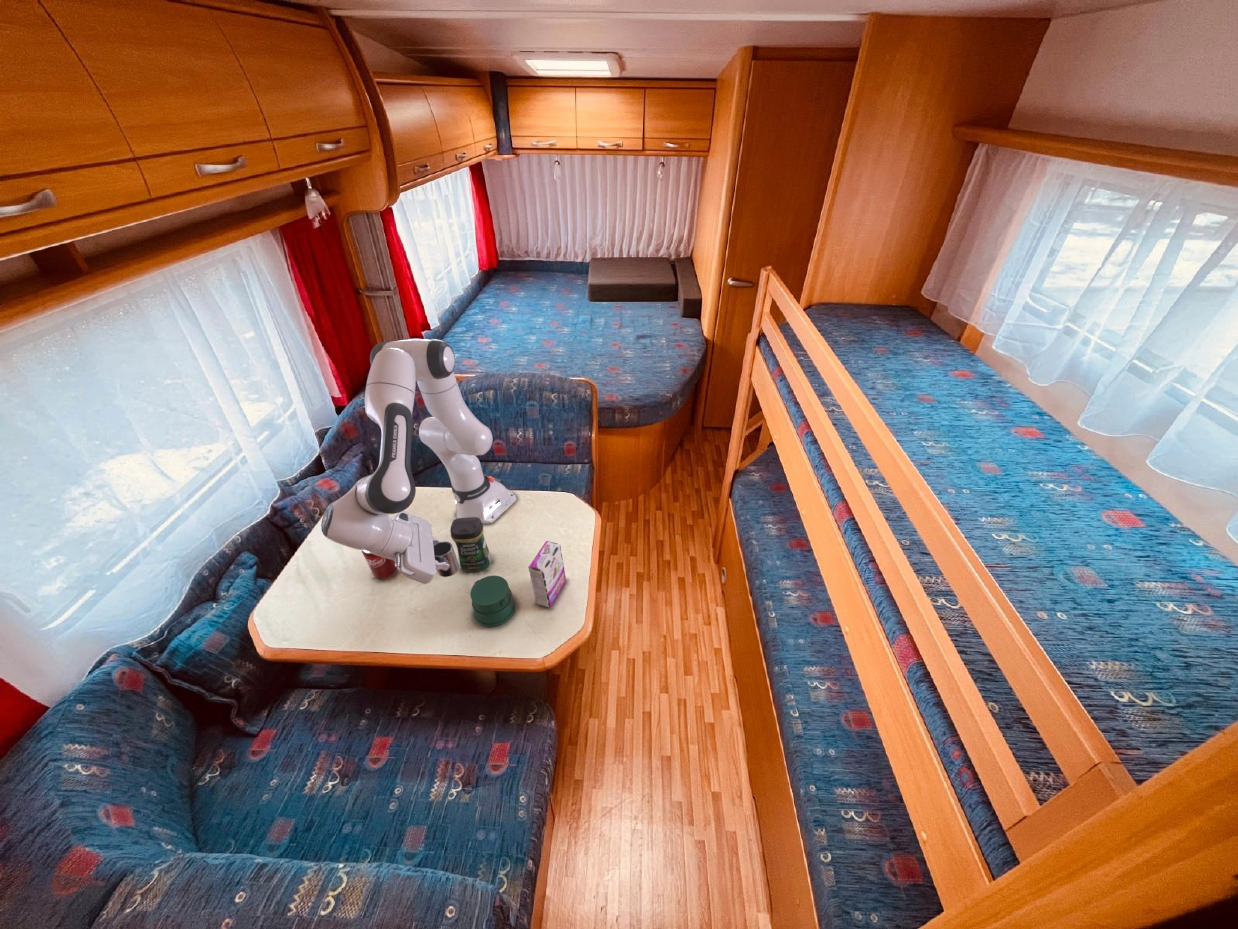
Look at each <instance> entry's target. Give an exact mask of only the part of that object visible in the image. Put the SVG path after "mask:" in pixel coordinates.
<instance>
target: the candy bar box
mask: <svg viewBox="0 0 1238 929" xmlns="http://www.w3.org/2000/svg"><path fill="white" fill-rule="evenodd" d="M527 568H528V572H529V576H530V581H531V584H532V590H533V593H534V598H535V602H536V605H539V606H541V607H542V606H543V607H546V608H549V609H551V608H552V606H553V604H554V603H555V601H556V599H557V598H558V596H559V594H560V592H561V591H562V589H563V587H564V585H565V584H566V582H567V576H566V571H565V566H564V559H563V554H562V547H561V543H558V542H553V541H550V540H545V542H544V543H543V545H542V547H541V548H540V550H538V552H537V554H536V555H535V557H534V558H533V560H532V561H531V563H530V564H529V566H528V567H527Z"/></svg>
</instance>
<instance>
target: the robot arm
mask: <svg viewBox="0 0 1238 929" xmlns="http://www.w3.org/2000/svg"><path fill="white" fill-rule="evenodd" d="M369 362H370V369H369V372H368V374H367V380H366V384H365V385H366V386H365V391H364V412H365V414H366V415H367V417H368V418H369V419H370V420H371V421H372V422H373V423H375V424H377V425H378V426H379V428H380V431H381V438H380V439H381V440H380V450H379V463H378V466H377V467H376V469H375V471H374V472H373V473H371V474H368V475H366V476H364V477H362V478H360V479H358V481H356V482H355V484H354V485H353V486H352V487H351V488H350V489H349V490H348V492H346V493H345V494H344V495H343V496H341V497H339V498H338V499H337V500H335V501H333V502H331V503H330V504H328V505H327V506H326V509H325V511H324V513H323V515H322V519H321V522H320V523H321V524H320V526H321V528H320V529H321V532H322V535H323V536H324V537H325V538H327V539H328V540H330V541H332V542H334V543H336V544H339V545H342V546H343V547H347V548H349V549H354V550H359V551H360V550H361V551H362V550H367V551H369V552H370V553H372V554H374V555H377V556H381V557H384V558H387V559H391V560H395V562H396V563H395V567H396V568H397V571H398V572H399V574H401V575H402V576H404V577H406V578H407V579H410V580H412V581H415V582H417V583H420V584H423V585H424V584H429V583H431V582H432V580H433V579H434V577H436V575H437V570H440V569H441V570H445V571H446V570H448V569H449V567H450V565H449V562H447V561H443V562H441V563H438V561H436V560H435V556H434V545H435V544H437V543H439V542H442V541H441V540H440V539H438V538H437V537H435V536H434V535H433V528H432V527H433V526H432V524H431V522H430V521H428V520H426V519H424V518H422V517H420V516H416V515H414V514H409V513H408V511H407V512H406V511H405V510H407V509H408V508H409V507H410V506H411V505H412V504H413V502H414V501H415V497H416V494H417V493H416V492H417V489H416V482H415V478H414V476H413V473H412V465H411V462H412V461H411V460H412V459H411V458H412V440H413V411H414V405H415V398H416V397H415V396H416V386H418V390H419V392H420V395H421V398H422V401H423V403H424V405H425V408H426V410H427V412H428V413H429V414H430V415H431V416H428V417H426V418H424V419H423V420H422V421H421V423H420V425H419V427H418V437H419V440H420V441H421V442H422V443H423V444H424V445H425V446H427V447H428V449H430V450H431V451H432V452H433V453H434V454H435V455H436V456H437V457H438V459H439V460H440V461H441V462H442V464H443V466H444V467H445V470H446V471H447V475H448V477H449V480H450V483H451V484H450V486H451V492H452V495H453V498H454V501H455V505H456V519H458V518H467V517H478V518H480V520H481V522H482V524H493V523H494V522H495V521H497V519H499V518H500V516H502V514H504V512H506V511H508V509H509V508H510V507H511V506H513V505H514V504H515V502H516V501H517V497H516V495H515V493H513V491H511V490H509V489H508V488H506V486H505V485H504V483H503V482H504V481H503V479H501V478H496V477H493V476H492V475H490V476H488V474H486V473H485V472H483V468H482V464H481V462H480V459H479V458H478V457H477V456H483V455H485V454H487V453H488V452H489V450H490V449H491V448H492V445H493V442H494V441H493V440H494V439H493V438H494V436H493V434H492V430H491V429H490V428H489V427H488V426H486V425H485V424H484V423H482V422H481V421H480V420H479V419H478V417H476V416H475V415H474V414H473V413H472V411H471V409H470V408H469V407H468V406H467V404H466V402H465V401H464V398H463V395H462V393H461V390H460V387H459V384H458V380H457V378H456V374H455V372H454V371H455V368H456V356H455V353H454V349H453V348H452V346H451V345H450V344H448V343H447V341H445V340H441V339H437V338H436V339H435V338H434V339H433V338H432V339H424V338H423V339H422V338H409V339H401V340H394V341H390V340H386V341H380V342H378V343H376V344H375V345H374V346H373V348H372V349H371V350H370V354H369ZM416 383H417V384H416ZM390 515H395V517H394V518H393V519H392V518H390Z"/></svg>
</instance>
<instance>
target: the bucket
mask: <svg viewBox="0 0 1238 929" xmlns="http://www.w3.org/2000/svg"><path fill="white" fill-rule="evenodd" d="M469 596H470V599H471V607H472V610H473V617H474V619H475V621H476V623H477V624H479V625H480V626H482V627H484V628H496V627H500V626H502V625H504V624H506V623H507V622H508V621H510V620H511V619H512V617H513V616H514V615H515V612H516V608H517V604H516V601H515V598H514V596H513V592H512V590H511V589H510V586H509V582H508V581H507V580H506V579H505V578H504V577H502V576H500V575H488V576H484V577H482V578H480V579H478V580H476V581H475V582H474V584H473V586H472V587H471V589H470V594H469Z"/></svg>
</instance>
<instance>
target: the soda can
mask: <svg viewBox="0 0 1238 929" xmlns="http://www.w3.org/2000/svg"><path fill="white" fill-rule="evenodd" d="M361 553H362V555H363V557H364V559H365V561H366V563H367V565H368V568H369V569H370V572H371V574H372V576H373V577H374V578H375V579H377V580H387V579H389V578H391V577H393V576H394V575H395V574H396V573H397V571H398V569H397V568H396V567H395V563H396V561H395V560H391V559H387V558H384V557H381V556H377V555H374V554H372V553H370V552H369V551H367V550H361Z"/></svg>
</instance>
